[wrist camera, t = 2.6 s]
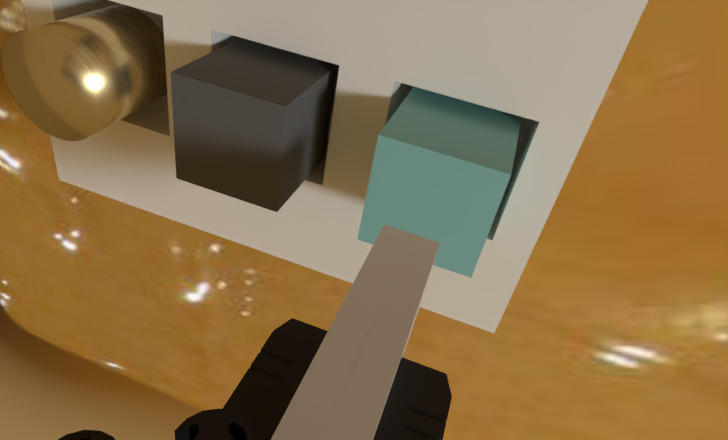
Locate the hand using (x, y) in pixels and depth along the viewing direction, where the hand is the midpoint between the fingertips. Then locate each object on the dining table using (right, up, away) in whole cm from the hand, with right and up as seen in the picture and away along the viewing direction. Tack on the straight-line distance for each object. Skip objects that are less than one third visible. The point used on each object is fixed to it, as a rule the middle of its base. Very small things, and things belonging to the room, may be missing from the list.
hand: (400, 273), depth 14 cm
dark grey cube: (-4, +6, +7) cm, 10 cm away
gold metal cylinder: (-11, +8, +8) cm, 16 cm away
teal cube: (+2, +4, +6) cm, 8 cm away
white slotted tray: (-3, +8, +10) cm, 13 cm away
